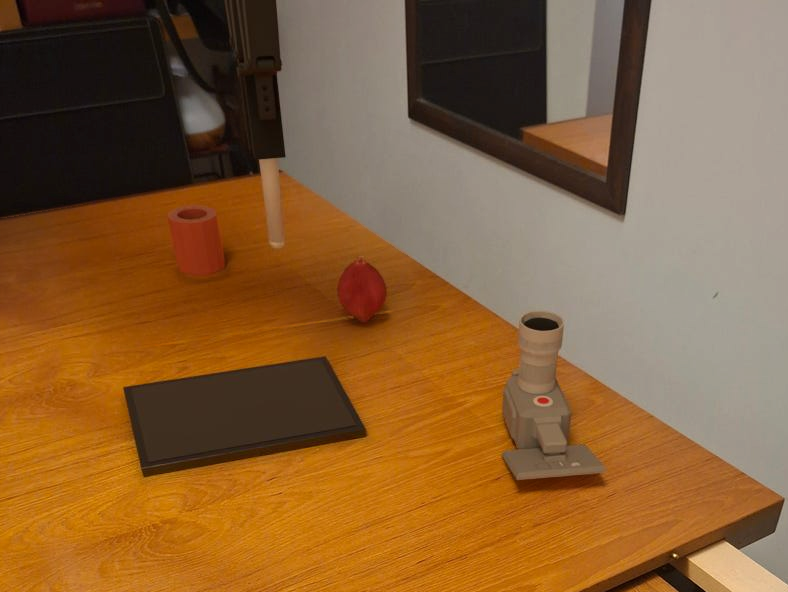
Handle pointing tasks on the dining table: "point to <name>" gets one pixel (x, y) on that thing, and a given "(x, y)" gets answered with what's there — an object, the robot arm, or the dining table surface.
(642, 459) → the dining table surface
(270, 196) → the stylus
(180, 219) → the pen pot
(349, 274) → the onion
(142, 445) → the tablet
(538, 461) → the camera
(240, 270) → the dining table surface
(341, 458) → the dining table surface
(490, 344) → the dining table surface
